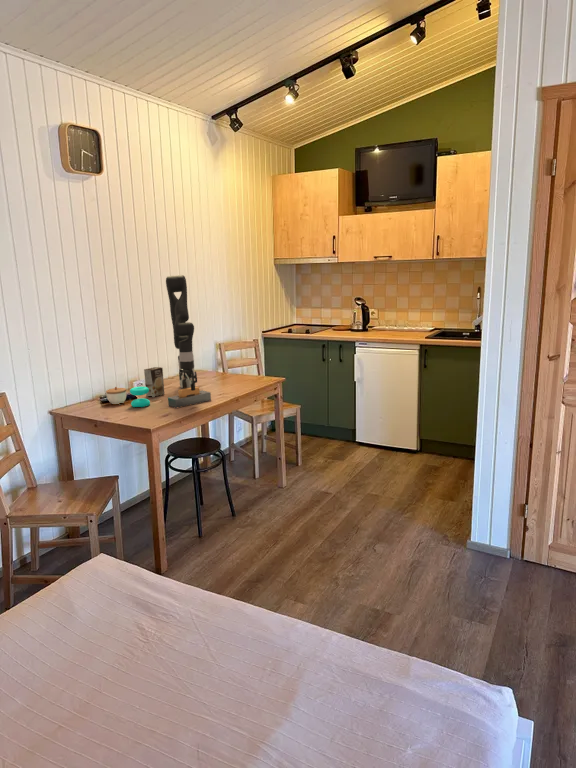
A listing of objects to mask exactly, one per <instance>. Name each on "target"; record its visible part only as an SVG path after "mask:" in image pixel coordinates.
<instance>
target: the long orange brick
mask: <svg viewBox="0 0 576 768" xmlns="http://www.w3.org/2000/svg"><path fill="white" fill-rule="evenodd" d="M199 391H200V386H195V390H194V391H192V390H191V388H180V389H178V390H177V392H178V395H179V397H181V398H183V397H187V395H191V394H193V395H197V394H200V392H199Z"/></svg>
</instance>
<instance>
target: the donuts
mask: <svg viewBox="0 0 576 768" xmlns="http://www.w3.org/2000/svg"><path fill="white" fill-rule="evenodd" d="M148 392H149V388H148V387H146V386H142V385H141V386H134V387H132V388H130V389H129V394H130V395H132V396H144V395H146V394H147V393H148ZM150 405H151V401H150V400H149V399H148V398H143V397H142V398H135V399H133V400H132V401H131V403H130V406H132V407H133V408H135V407H141V408H146V407H148V406H150ZM145 406H146V407H145Z"/></svg>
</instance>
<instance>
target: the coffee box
mask: <svg viewBox="0 0 576 768" xmlns="http://www.w3.org/2000/svg"><path fill="white" fill-rule="evenodd" d="M163 371H164V369H163V367H162V366H161V367H159V366H158V367H155V366H154V367H151V368H145V369H143V373H144V383H145V386H144V387H148V388H149V392H148V393H147V394H145V395H146V397H147V396H152V397H151V398H156V397H155V396H157V397H159V396H158V395H160V396H163V395H165V383H164V372H163ZM162 394H163V395H162Z"/></svg>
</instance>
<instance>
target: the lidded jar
mask: <svg viewBox="0 0 576 768" xmlns="http://www.w3.org/2000/svg"><path fill="white" fill-rule="evenodd" d="M105 393H106V398H107V401H109V403H110V404H111V405H112V404H119V403H123V404H124V402H126V399H127V388H125V387H117V386H115V387H114V388H108V389H107V390H106V391H105ZM119 405H120V404H119Z"/></svg>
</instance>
